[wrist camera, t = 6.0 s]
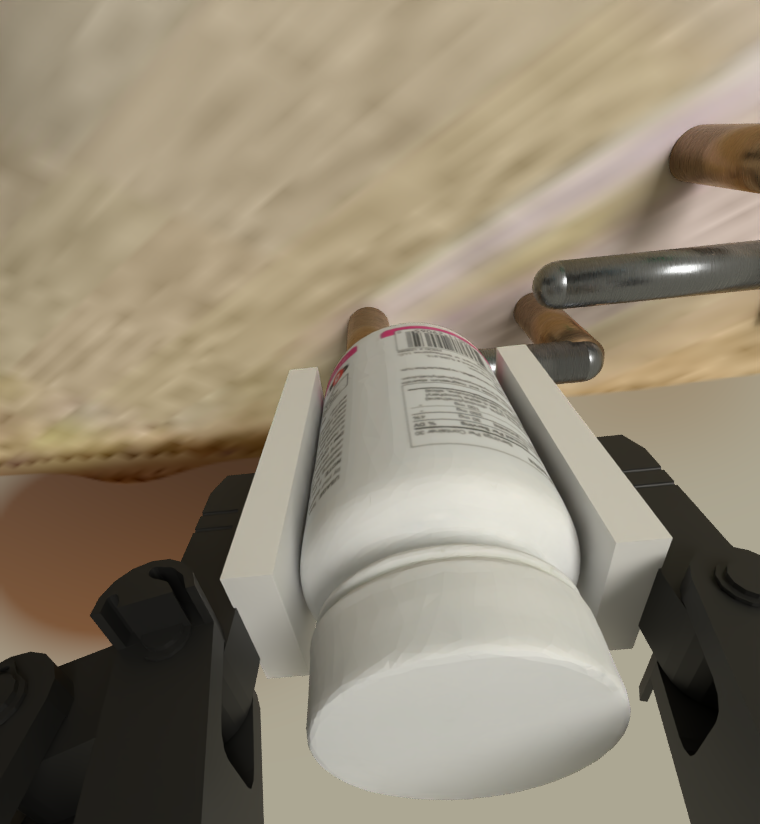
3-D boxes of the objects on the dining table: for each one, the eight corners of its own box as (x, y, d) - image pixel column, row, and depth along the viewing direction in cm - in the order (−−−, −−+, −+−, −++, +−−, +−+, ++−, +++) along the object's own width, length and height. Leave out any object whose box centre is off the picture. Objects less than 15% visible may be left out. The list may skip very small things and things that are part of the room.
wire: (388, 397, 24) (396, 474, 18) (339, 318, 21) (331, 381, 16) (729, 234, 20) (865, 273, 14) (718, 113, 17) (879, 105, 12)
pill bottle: (383, 485, 14) (396, 835, 7) (292, 375, 12) (179, 720, 5) (520, 419, 13) (705, 764, 6) (446, 283, 11) (597, 566, 4)
